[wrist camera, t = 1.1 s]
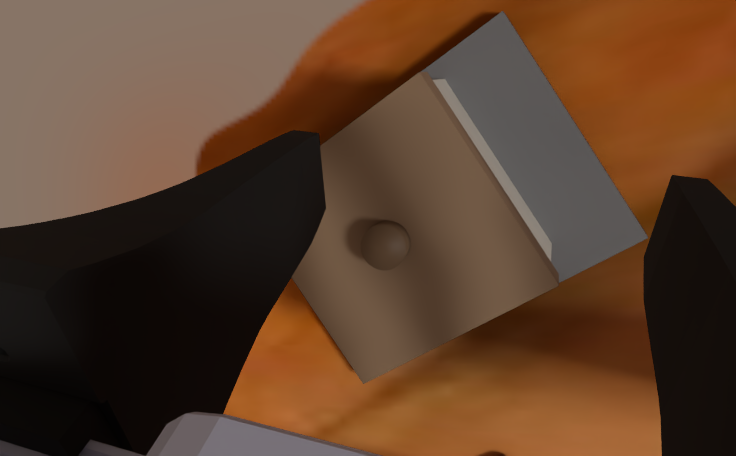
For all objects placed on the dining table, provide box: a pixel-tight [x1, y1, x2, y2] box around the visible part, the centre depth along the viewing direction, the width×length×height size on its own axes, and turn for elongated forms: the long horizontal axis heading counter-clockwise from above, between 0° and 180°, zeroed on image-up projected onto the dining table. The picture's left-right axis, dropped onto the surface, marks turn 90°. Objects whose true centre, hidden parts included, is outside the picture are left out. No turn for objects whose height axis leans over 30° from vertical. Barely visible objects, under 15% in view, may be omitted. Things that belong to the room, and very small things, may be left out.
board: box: [421, 11, 648, 283], centre depth 32 cm, size 18×13×1 cm
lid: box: [291, 72, 559, 384], centre depth 26 cm, size 10×10×2 cm
